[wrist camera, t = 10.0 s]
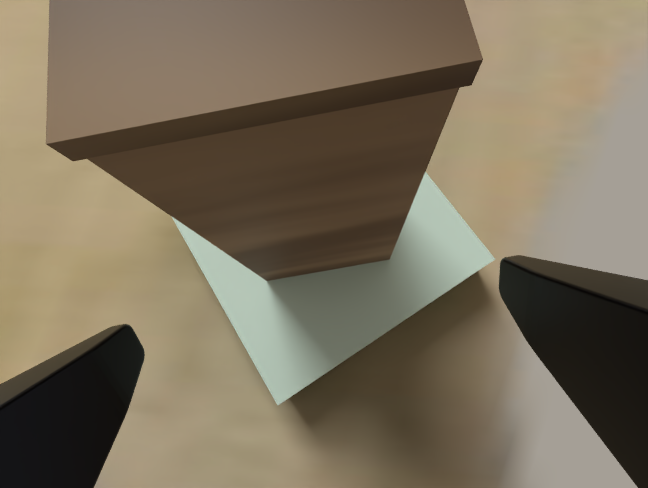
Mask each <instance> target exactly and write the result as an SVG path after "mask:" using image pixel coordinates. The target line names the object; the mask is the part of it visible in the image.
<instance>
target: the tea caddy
mask: <svg viewBox="0 0 648 488" xmlns="http://www.w3.org/2000/svg"><path fill="white" fill-rule="evenodd" d="M482 60H483V58H482V55H481V52H480V49H479V45H478V42H477V39H476V36H475V33H474V30H473V27H472V23H471V20H470V17H469V14H468V11H467V8H466V5H465V1H464V0H50V3H49V42H48V81H47V121H46V144H47V145H48V146H50V147H51V148H53V149H55V150H56V151H58V152H59V153H61V154H62V155H64V156H66V157H67V158H69V159H70V160H72V161H77V160H82V159H88V160H90V161H91V162H93V163H94V164H96V165H97V166H98V167H100V168H101V169H103V170H104V171H106V172H107V173H109V174H110V175H112V176H113V177H115V178H116V179H118V180H119V181H121V182H122V183H123V184H125V185H126V186H128V187H129V188H131V189H132V190H134V191H135V192H137V193H138V194H140V195H141V196H143V197H144V198H145V199H147V200H148V201H150V202H151V203H153V204H154V205H156V206H157V207H159V208H160V209H162V210H163V211H165V212H166V213H167V214H169V215H170V216H172V217H173V218H175V219H176V220H178V221H179V222H181V223H182V224H184V225H185V226H187V227H188V228H189V229H191V230H192V231H194V232H195V233H197V234H198V235H200V236H201V237H203V238H204V239H206V240H207V241H209V242H210V243H212V244H213V245H214V246H216V247H217V248H219V249H220V250H222V251H223V252H225V253H226V254H228V255H229V256H231V257H232V258H234V259H235V260H236V261H238V262H239V263H241V264H242V265H244V266H245V267H247V268H248V269H250V270H251V271H253V272H254V273H256V274H257V275H258V276H260V277H261V278H263V279H264V280H266V281H270V280H276V279H281V278H287V277H293V276H299V275H304V274H310V273H316V272H321V271H327V270H333V269H338V268H344V267H350V266H355V265H361V264H367V263H373V262H378V261H384V260H390V257H391V255H392V253H393V250H394V248H395V245H396V243H397V240H398V238H399V235H400V233H401V230H402V228H403V225H404V223H405V220H406V218H407V216H408V213H409V211H410V208H411V206H412V203H413V201H414V198H415V196H416V193H417V191H418V188H419V186H420V184H421V181H422V179H423V176H424V174H425V171H426V169H427V166H428V164H429V161H430V159H431V156H432V154H433V151H434V149H435V147H436V144H437V142H438V139H439V137H440V134H441V132H442V129H443V127H444V124H445V122H446V119H447V117H448V114H449V112H450V110H451V107H452V105H453V102H454V100H455V97H456V95H457V92H458V90H459V87H464V86H470V85H472V83H473V81H474V78H475V76H476V74H477V72H478V69H479V67H480V65H481V63H482Z"/></svg>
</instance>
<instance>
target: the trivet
mask: <svg viewBox="0 0 648 488" xmlns="http://www.w3.org/2000/svg"><path fill="white" fill-rule="evenodd" d="M172 218H173V217H172ZM173 220H174V222H175V223H176V225H177V227H178V229H179V231H180V232H181V234H182V236H183V238H184V239H185V241H186V243H187V245H188V247H189V248H190V250H191V252H192V254H193V256H194V257H195V259H196V261H197V263H198V264H199V266H200V268H201V270H202V272H203V273H204V275H205V277H206V279H207V280H208V282H209V284H210V286H211V288H212V289H213V291H214V293H215V295H216V296H217V298H218V300H219V302H220V304H221V305H222V307H223V309H224V311H225V313H226V314H227V316H228V318H229V320H230V321H231V323H232V325H233V327H234V329H235V330H236V332H237V334H238V336H239V337H240V339H241V341H242V343H243V345H244V346H245V348H246V350H247V352H248V353H249V355H250V357H251V359H252V361H253V362H254V364H255V366H256V368H257V370H258V371H259V373H260V375H261V377H262V378H263V380H264V382H265V384H266V386H267V387H268V389H269V391H270V393H271V394H272V396H273V398H274V400H275V402H276V403H277V405H279V404H281V403H282V402H284V401H285V400H287V399H288V398H290V397H291V396H293V395H294V394H296V393H297V392H299V391H300V390H302V389H303V388H305V387H306V386H308V385H309V384H310V383H312V382H313V381H315V380H316V379H318V378H319V377H321V376H322V375H324V374H325V373H327V372H328V371H330V370H331V369H333V368H334V367H336V366H337V365H339V364H340V363H342V362H343V361H345V360H346V359H348V358H349V357H351V356H352V355H354V354H355V353H357V352H358V351H360V350H361V349H363V348H364V347H365V346H367V345H368V344H370V343H371V342H373V341H374V340H376V339H377V338H379V337H380V336H382V335H383V334H385V333H386V332H388V331H389V330H391V329H392V328H394V327H395V326H397V325H398V324H400V323H401V322H403V321H404V320H406V319H407V318H409V317H410V316H412V315H413V314H415V313H416V312H417V311H419V310H420V309H422V308H423V307H425V306H426V305H428V304H429V303H431V302H432V301H434V300H435V299H437V298H438V297H440V296H441V295H443V294H444V293H446V292H447V291H449V290H450V289H452V288H453V287H455V286H456V285H458V284H459V283H461V282H462V281H464V280H465V279H467V278H468V277H470V276H471V275H472V274H474V273H475V272H477V271H478V270H480V269H481V268H483V267H484V266H486V265H487V264H489V263H490V262H492V261H493V260H495V258H494V257H493V256H492V255H491V253H490V252H489V251H488V250H487V248H486V247H485V246H484V245H483V243H482V242H481V241H480V240H479V238H478V237H477V236H476V235H475V233H474V232H473V231H472V230H471V228H470V227H469V226H468V225H467V223H466V222H465V221H464V220H463V218H462V217H461V216H460V215H459V213H458V212H457V211H456V209H455V208H454V207H453V206H452V204H451V203H450V202H449V201H448V199H447V198H446V197H445V196H444V194H443V193H442V192H441V191H440V189H439V188H438V187H437V186H436V184H435V183H434V182H433V181H432V179H431V178H430V177H429V176H428V174H427V173H426V172H425V174H424V176H423V179H422V181H421V184H420V186H419V188H418V191H417V193H416V196H415V198H414V201H413V203H412V206H411V208H410V211H409V213H408V216H407V218H406V220H405V223H404V225H403V228H402V230H401V233H400V235H399V238H398V240H397V243H396V245H395V248H394V250H393V253H392V255H391V257H390V260H384V261H378V262H373V263H367V264H361V265H355V266H350V267H344V268H338V269H333V270H327V271H321V272H316V273H310V274H304V275H299V276H293V277H287V278H281V279H276V280H270V281H266V280H264V279H263V278H261V277H260V276H258V275H257V274H256V273H254V272H253V271H251V270H250V269H248V268H247V267H245V266H244V265H242V264H241V263H239V262H238V261H236V260H235V259H234V258H232V257H231V256H229V255H228V254H226V253H225V252H223V251H222V250H220V249H219V248H217V247H216V246H214V245H213V244H212V243H210V242H209V241H207V240H206V239H204V238H203V237H201V236H200V235H198V234H197V233H195V232H194V231H192V230H191V229H189V228H188V227H187V226H185V225H184V224H182V223H181V222H179V221H178V220H176V219H175V218H173Z"/></svg>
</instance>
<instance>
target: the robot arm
mask: <svg viewBox="0 0 648 488" xmlns="http://www.w3.org/2000/svg"><path fill="white" fill-rule="evenodd" d="M499 291H500V295H501V297H502V299H503V301H504V303H505V305H506V306H507V308H508V310H509V311H510V313H511V315H512V317H513V318H514V320H515V322H516V323H517V325H518V327H519V329H520V330H521V332H522V334H523V336H524V337H525V339H526V340H527V342H528V344H529V345H530V346H531V348H532V349H533V351H534V352H535V353H536V355H537V356H538V357H539V358H540V360H541V361H542V362H543V364H544V365H545V366H546V368H547V369H548V370H549V372H550V373H551V374H552V375H553V377H554V378H555V379H556V381H557V382H558V383H559V385H560V386H561V387H562V388H563V390H564V391H565V393H566V394H567V395H568V396H569V398H570V399H571V400H572V402H573V403H574V404H575V406H576V407H577V408H578V410H579V411H580V412H581V414H582V415H583V416H584V417H585V419H586V420H587V421H588V423H589V424H590V425H591V427H592V428H593V429H594V431H595V432H596V433H597V435H598V436H599V437H600V438H601V440H602V441H603V442H604V444H605V445H606V446H607V448H608V449H609V450H610V451H611V453H612V454H613V456H614V457H615V458H616V459H617V461H618V462H619V463H620V465H621V466H622V467H623V469H624V470H625V471H626V473H627V474H628V475H629V476H630V478H631V479H632V480H633V482H634V483H635V484H636V485H637V487H638V488H648V280H643V279H638V278H633V277H628V276H622V275H618V274H612V273H608V272H602V271H598V270H592V269H587V268H582V267H576V266H572V265H567V264H562V263H557V262H552V261H547V260H542V259H536V258H531V257H526V256H521V255H517V256H511V257H505V258H503V259H502V260H501V263H500V276H499ZM144 356H145V354H144V349H143V346H142V345H141V343H140V341H139V339H138V337H137V336H136V334H135V332H134V330H133V329H132V327H131V326H130V325H128V324H123V325H117V326H112V327H110V328H108V329H106V330H104V331H102V332H100V333H98V334H96V335H94V336H92V337H90V338H88V339H87V340H85V341H83V342H81V343H79V344H77V345H75V346H73V347H71V348H69V349H67V350H65V351H63V352H62V353H60V354H58V355H56V356H54V357H52V358H50V359H48V360H46V361H44V362H42V363H40V364H39V365H37V366H35V367H33V368H31V369H29V370H27V371H25V372H23V373H21V374H19V375H17V376H15V377H14V378H12V379H10V380H8V381H6V382H4V383H2V384H0V488H94V486H95V484H96V481H97V479H98V477H99V475H100V472H101V470H102V468H103V466H104V463H105V461H106V459H107V456H108V454H109V452H110V450H111V447H112V445H113V443H114V441H115V438H116V436H117V434H118V432H119V429H120V427H121V425H122V423H123V420H124V418H125V415H126V413H127V411H128V408H129V405H130V402H131V399H132V396H133V393H134V390H135V387H136V383H137V380H138V377H139V374H140V371H141V368H142V365H143V361H144Z"/></svg>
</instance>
